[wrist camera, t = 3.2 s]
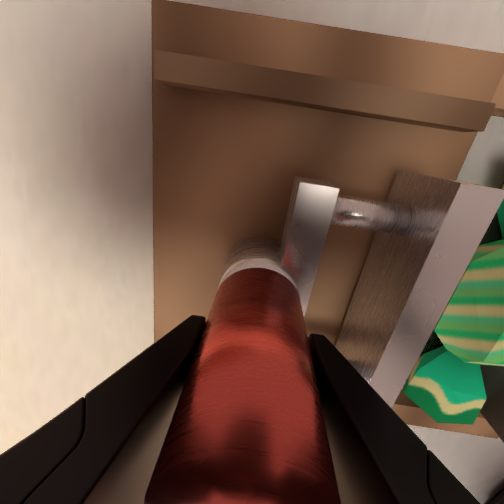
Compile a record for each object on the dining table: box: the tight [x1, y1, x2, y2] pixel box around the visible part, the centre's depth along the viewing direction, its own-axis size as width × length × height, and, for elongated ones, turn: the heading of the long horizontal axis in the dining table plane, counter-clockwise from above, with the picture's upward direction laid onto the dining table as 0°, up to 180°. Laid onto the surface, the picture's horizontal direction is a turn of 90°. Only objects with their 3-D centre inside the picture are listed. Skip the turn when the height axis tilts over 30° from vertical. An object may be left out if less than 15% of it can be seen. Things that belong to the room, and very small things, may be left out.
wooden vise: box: [152, 0, 504, 442], centre depth 10 cm, size 21×18×6 cm
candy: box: [403, 184, 504, 425], centre depth 12 cm, size 12×3×4 cm
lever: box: [144, 170, 504, 504], centre depth 8 cm, size 7×10×8 cm
